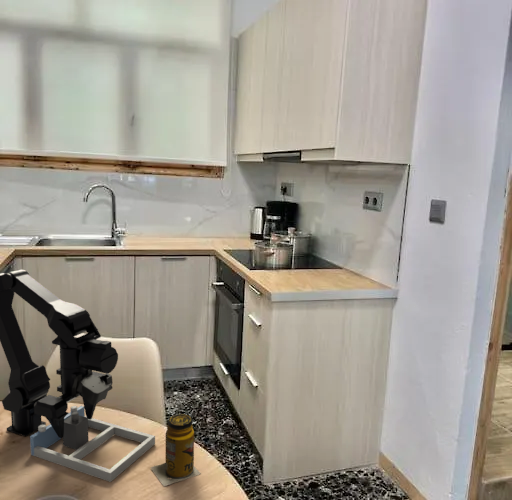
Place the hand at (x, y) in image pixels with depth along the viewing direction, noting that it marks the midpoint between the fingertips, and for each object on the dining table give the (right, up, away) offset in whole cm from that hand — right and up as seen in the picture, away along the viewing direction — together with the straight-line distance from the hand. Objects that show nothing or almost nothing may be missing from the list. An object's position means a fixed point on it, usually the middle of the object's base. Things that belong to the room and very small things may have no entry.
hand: (75, 427), depth 117 cm
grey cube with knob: (0, -4, +1) cm, 4 cm away
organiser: (+5, -4, -1) cm, 7 cm away
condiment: (+25, -7, -9) cm, 27 cm away
